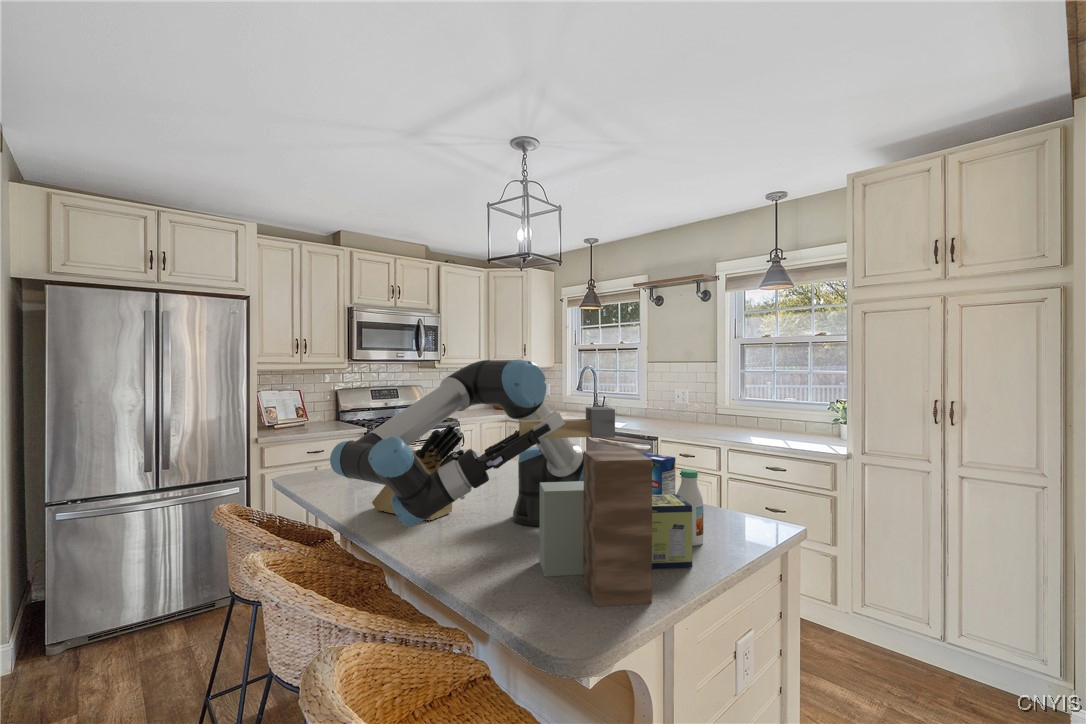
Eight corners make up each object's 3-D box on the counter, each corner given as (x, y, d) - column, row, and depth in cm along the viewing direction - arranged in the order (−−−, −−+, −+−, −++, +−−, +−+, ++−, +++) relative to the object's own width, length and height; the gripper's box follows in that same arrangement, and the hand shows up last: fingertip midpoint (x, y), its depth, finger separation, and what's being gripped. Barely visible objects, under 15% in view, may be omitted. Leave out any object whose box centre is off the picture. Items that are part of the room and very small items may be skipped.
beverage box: (661, 536, 148) (661, 460, 148) (632, 526, 157) (632, 454, 157) (675, 531, 153) (675, 457, 153) (646, 522, 161) (646, 452, 161)
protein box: (621, 554, 135) (621, 494, 135) (678, 552, 136) (678, 493, 136) (631, 570, 124) (631, 506, 124) (693, 568, 125) (693, 504, 125)
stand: (583, 581, 117) (583, 451, 117) (634, 579, 119) (634, 449, 119) (595, 606, 105) (596, 461, 105) (651, 603, 107) (652, 459, 107)
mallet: (518, 435, 112) (518, 407, 112) (607, 433, 115) (607, 406, 115) (521, 439, 106) (521, 410, 106) (614, 437, 109) (614, 409, 109)
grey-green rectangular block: (539, 561, 129) (539, 482, 129) (589, 559, 131) (590, 481, 131) (544, 576, 120) (544, 491, 120) (598, 573, 122) (598, 489, 122)
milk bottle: (688, 548, 139) (688, 474, 139) (669, 539, 145) (669, 469, 145) (709, 543, 142) (709, 471, 142) (689, 535, 149) (689, 466, 149)
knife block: (452, 527, 156) (453, 426, 156) (371, 510, 173) (371, 419, 173) (475, 517, 165) (475, 422, 165) (395, 502, 183) (395, 416, 183)
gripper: (473, 480, 116) (561, 427, 119) (474, 499, 99) (576, 437, 102) (456, 451, 115) (545, 399, 118) (454, 466, 99) (558, 405, 102)
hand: (560, 417), depth 110 cm, fingers closed on mallet, 3 cm apart
